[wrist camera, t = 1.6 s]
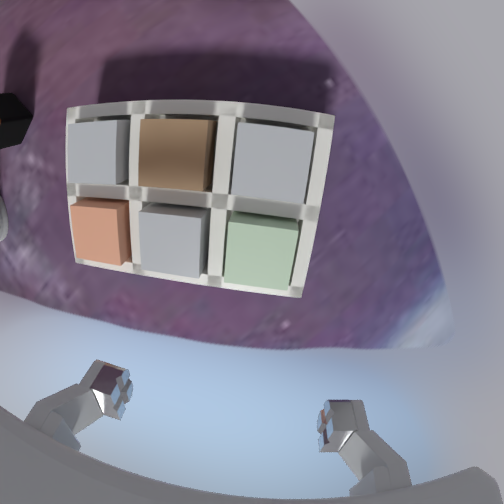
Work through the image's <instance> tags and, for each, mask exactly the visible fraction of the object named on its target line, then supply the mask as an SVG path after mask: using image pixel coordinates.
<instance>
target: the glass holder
mask: <svg viewBox="0 0 504 504" xmlns="http://www.w3.org/2000/svg"><path fill="white" fill-rule="evenodd" d="M7 232H8V216H7V211H6V207H5V204H4V202H3V199H2V197H1V196H0V241H2V240H4V239H5V237H6V235H7Z"/></svg>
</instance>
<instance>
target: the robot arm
mask: <svg viewBox="0 0 504 504" xmlns="http://www.w3.org/2000/svg"><path fill="white" fill-rule="evenodd" d="M129 376H130V373H129V370H128V369H124V368H121V367H118V366H115V365H112V364H109V363H106V362H103V361H100V360H96V361H94V362H93V364H92V365H91V367H90V368H89V370H88V371H87V373H86V374H85V376H84V377H83V379H82V380H81V382H80V384H74V385H72V386H70V387H68V388H66V389H64V390H61V391H59V392H57V393H55V394H53V395H51V396H48V397H46V398H44V399H42V400H40V401H38V402H36V404H35V405H34V407H33V408H32V409H31V411H30V413H29V414H28V416H27V417H26V419H25V420H24V421H22V420H21V419H19V418H17V417H16V416H14V415H13V414H12V413H10V412H8V411H7V410H6V409H4V408H3V407H1V406H0V504H503V502H502V498H501V494H500V490H499V487H498V484H497V482H496V480H495V479H494V478H492V477H491V476H490V475H489V474H487V473H486V472H485V471H483V470H482V469H480V468H478V467H471V468H468V469H465V470H462V471H460V472H457V473H454V474H451V475H448V476H445V477H442V478H438V479H435V480H432V481H428V482H424V483H421V484H417V485H413V486H412V484H411V479H410V475H409V471H408V467H407V463H406V461H405V460H404V459H403V458H402V457H401V456H400V455H398V454H397V453H396V452H395V451H394V450H393V449H392V448H391V447H390V446H389V445H388V444H387V443H386V442H384V440H383V439H381V438H380V437H379V436H378V435H377V434H376V433H375V432H374V431H373V430H370V429H369V424H368V420H367V416H366V412H365V408H364V404H363V401H362V400H327V401H326V402H325V403H324V409H323V410H321V411H320V413H319V416H318V420H317V431H318V432H319V433H320V434H321V436H320V437H319V439H318V442H319V452H339V455H340V456H341V457H342V459H343V460H344V461H345V463H346V464H347V465H348V467H349V468H350V469H351V470H352V472H353V473H354V474H355V476H356V477H357V478H358V480H359V482H358V483H357V484H356V485H355V486H353V487H352V488H351V489H350V490H349V491H350V496H349V497H338V498H323V499H269V498H254V497H244V496H234V495H226V494H220V493H213V492H207V491H201V490H196V489H191V488H187V487H182V486H177V485H174V484H170V483H166V482H162V481H158V480H155V479H151V478H148V477H144V476H141V475H138V474H135V473H132V472H129V471H126V470H123V469H120V468H117V467H115V466H112V465H110V464H107V463H104V462H102V461H99V460H97V459H94V458H92V457H90V456H88V455H85V454H83V453H81V452H79V449H80V447H81V445H80V442H79V441H78V440H77V438H76V437H75V434H77V433H78V432H80V431H81V430H83V429H84V428H86V427H87V426H89V425H90V424H92V423H93V422H95V421H96V420H97V419H99V418H101V417H102V416H103V415H106V416H109V417H112V418H115V419H118V420H121V418H122V416H123V413H124V411H125V409H126V408H125V405H124V404H125V403H127V402H129V401H130V398H131V396H132V391H133V384H132V381H130V379H129Z"/></svg>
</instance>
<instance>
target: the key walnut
mask: <svg viewBox="0 0 504 504" xmlns="http://www.w3.org/2000/svg"><path fill="white" fill-rule="evenodd" d="M216 126H217V121H213V120H196V119H141V120H140V136H139V162H138V186H144V187H158V188H171V189H182V190H193V191H204V190H205V189H206V188H207V187H208V186H209V185H210V184H211V183H212V171H213V159H214V148H215V137H216Z"/></svg>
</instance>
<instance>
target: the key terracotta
mask: <svg viewBox="0 0 504 504" xmlns="http://www.w3.org/2000/svg"><path fill="white" fill-rule="evenodd" d="M70 211H71V221H72V230H73V237H74V244H75V251H76V257H77V258H80V259H85V260H91V261H96V262H102V263H107V264H113V265H118V266H121V265H122V264H123V263H124V262H125V261H126V260H127V259H128V258H129V257H130V256H131V255H132V249H131V234H130V213H129V200H123V199H111V198H97V197H86V198H84V199H82V200H80V201H78V202H76V203H74V204H72V205H70Z"/></svg>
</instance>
